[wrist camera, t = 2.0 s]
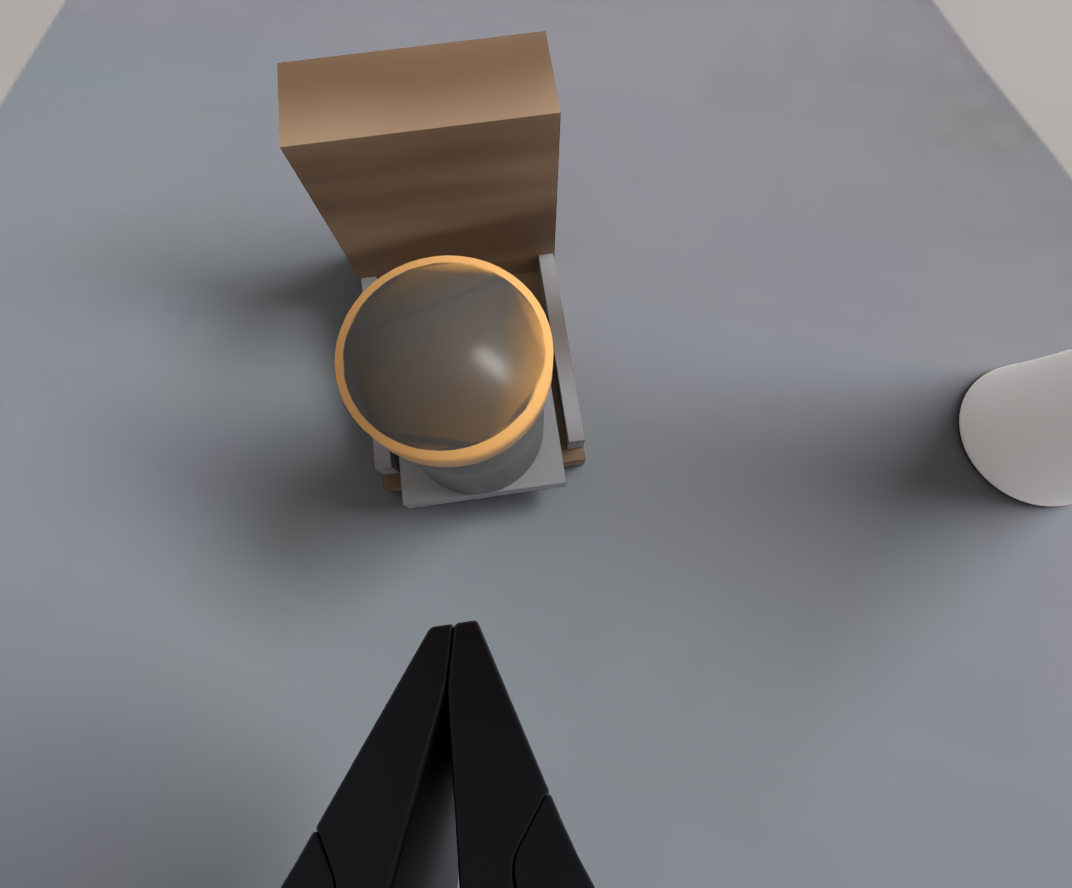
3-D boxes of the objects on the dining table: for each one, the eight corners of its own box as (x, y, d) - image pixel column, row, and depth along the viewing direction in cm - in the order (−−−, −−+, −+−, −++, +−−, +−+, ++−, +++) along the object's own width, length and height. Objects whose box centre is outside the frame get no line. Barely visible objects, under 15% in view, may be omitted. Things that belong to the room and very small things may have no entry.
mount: (583, 464, 22) (613, 391, 13) (391, 491, 22) (289, 436, 13) (543, 224, 24) (545, 31, 16) (371, 246, 24) (277, 63, 16)
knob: (565, 491, 20) (582, 440, 12) (409, 513, 20) (327, 476, 12) (545, 361, 21) (548, 241, 14) (398, 381, 21) (317, 271, 14)
